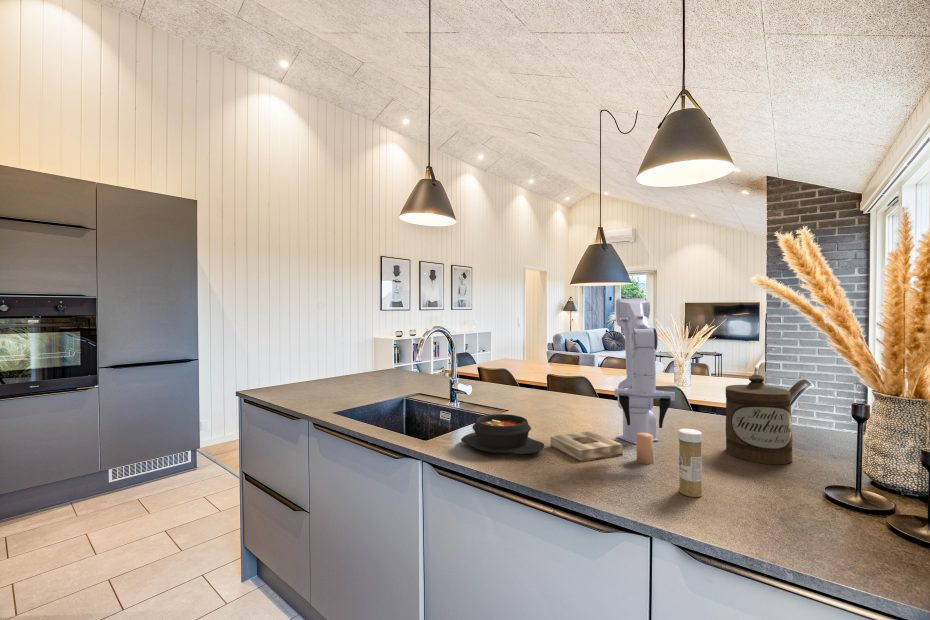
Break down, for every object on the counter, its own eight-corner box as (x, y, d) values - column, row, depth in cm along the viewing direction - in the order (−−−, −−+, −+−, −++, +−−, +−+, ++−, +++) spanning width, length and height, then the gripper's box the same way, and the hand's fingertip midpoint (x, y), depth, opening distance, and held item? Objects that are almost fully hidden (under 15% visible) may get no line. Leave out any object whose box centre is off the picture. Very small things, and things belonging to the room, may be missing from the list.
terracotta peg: (644, 458, 112) (644, 431, 112) (656, 462, 108) (656, 435, 108) (633, 460, 110) (633, 433, 111) (644, 464, 107) (644, 437, 107)
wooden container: (736, 462, 109) (734, 377, 109) (719, 445, 123) (718, 370, 123) (803, 467, 104) (802, 379, 105) (778, 449, 118) (777, 372, 119)
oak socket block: (589, 441, 127) (589, 431, 127) (622, 455, 114) (622, 444, 114) (550, 446, 122) (550, 436, 122) (580, 461, 109) (580, 450, 109)
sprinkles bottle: (674, 489, 92) (673, 428, 92) (693, 488, 92) (693, 427, 92) (687, 498, 87) (686, 434, 87) (708, 497, 87) (707, 433, 88)
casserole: (554, 447, 122) (554, 418, 122) (527, 466, 106) (526, 433, 106) (481, 434, 136) (481, 408, 136) (448, 449, 120) (447, 420, 120)
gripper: (613, 374, 109) (614, 426, 109) (675, 377, 103) (676, 432, 103) (615, 371, 115) (616, 420, 115) (673, 373, 110) (674, 425, 109)
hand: (644, 425), depth 109 cm, fingers open, 7 cm apart
